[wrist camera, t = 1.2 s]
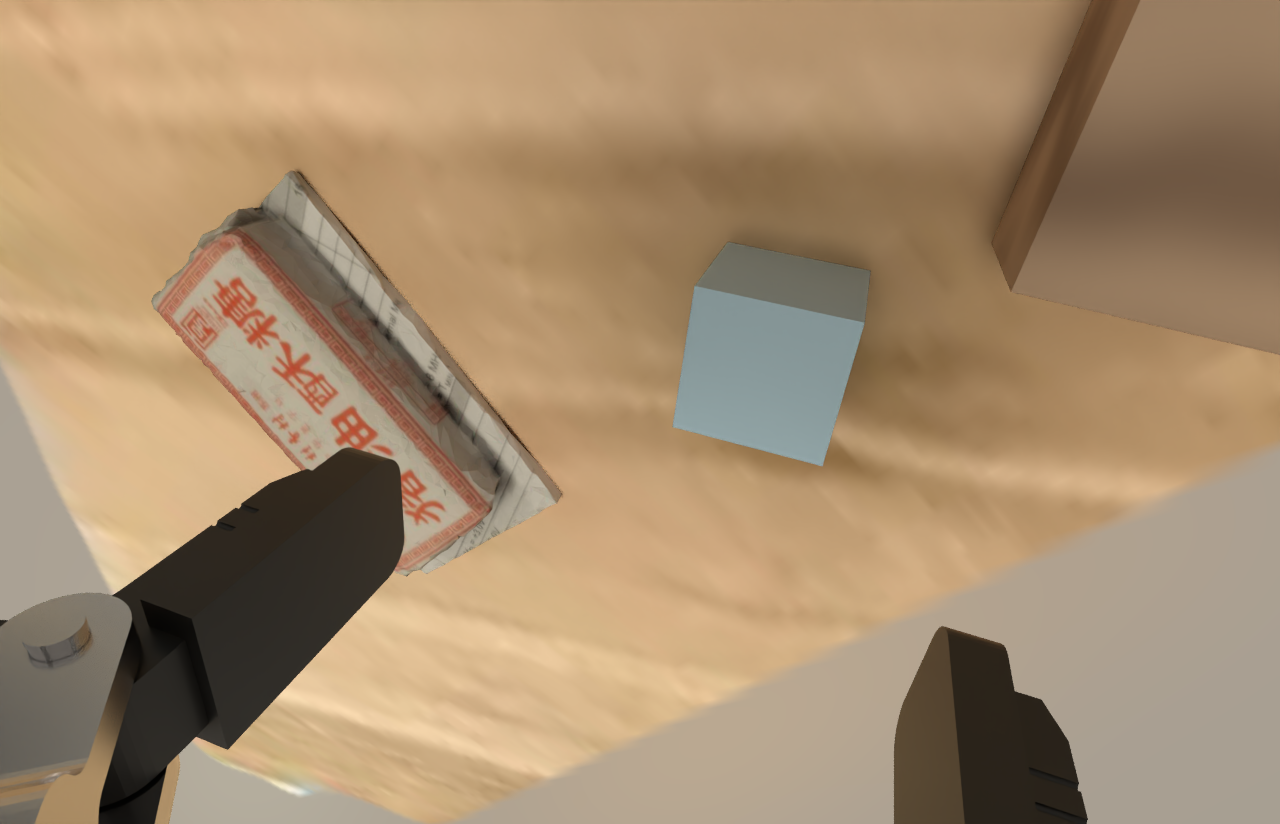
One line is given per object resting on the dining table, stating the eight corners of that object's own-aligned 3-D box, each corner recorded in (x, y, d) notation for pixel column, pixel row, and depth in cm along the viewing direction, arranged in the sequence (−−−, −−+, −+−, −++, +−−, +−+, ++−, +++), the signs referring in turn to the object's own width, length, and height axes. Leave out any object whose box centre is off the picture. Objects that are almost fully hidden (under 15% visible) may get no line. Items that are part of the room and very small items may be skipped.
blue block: (728, 241, 25) (694, 285, 21) (870, 270, 24) (864, 322, 20) (706, 365, 28) (672, 426, 24) (834, 396, 27) (822, 466, 23)
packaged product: (111, 323, 31) (213, 187, 26) (202, 287, 35) (306, 164, 30) (389, 620, 35) (525, 554, 30) (442, 557, 39) (570, 489, 34)
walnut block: (1112, -54, 19) (1172, -73, 15) (1467, -4, 17) (1648, -9, 13) (990, 241, 23) (1011, 292, 19) (1267, 302, 21) (1356, 373, 17)
